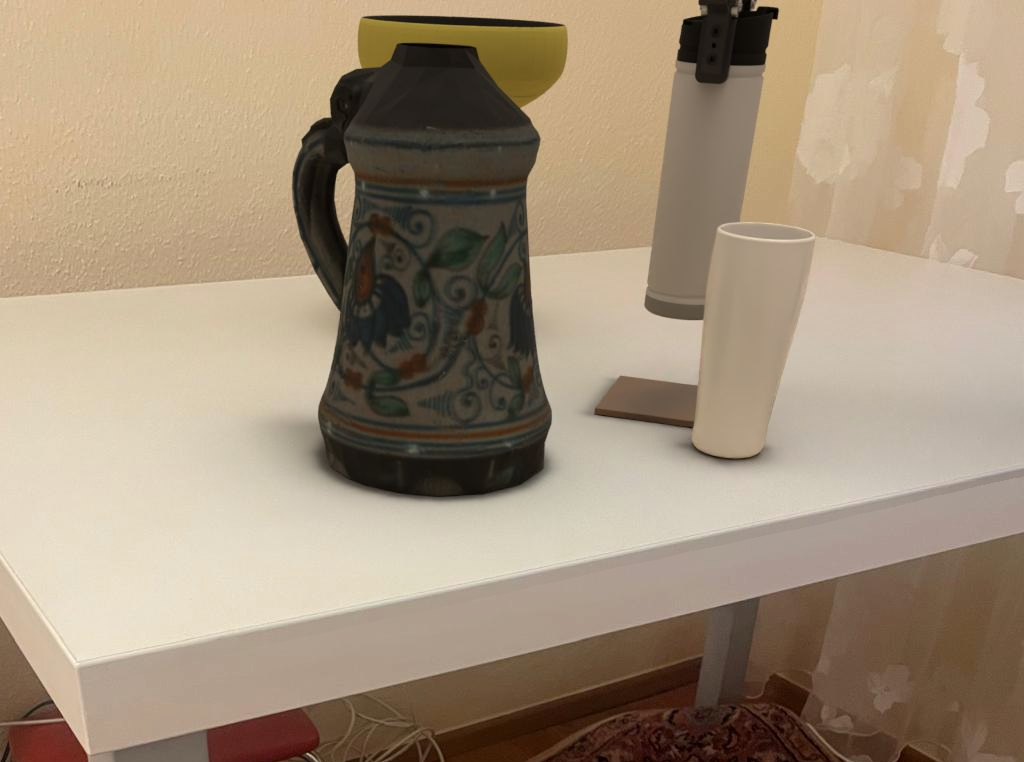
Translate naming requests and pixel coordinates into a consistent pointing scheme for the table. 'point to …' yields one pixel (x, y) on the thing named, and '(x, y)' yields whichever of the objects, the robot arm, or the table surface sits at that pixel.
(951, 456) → the table surface
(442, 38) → the cocktail glass
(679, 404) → the coaster
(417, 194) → the beer stein
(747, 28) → the travel mug
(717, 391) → the drinking glass
